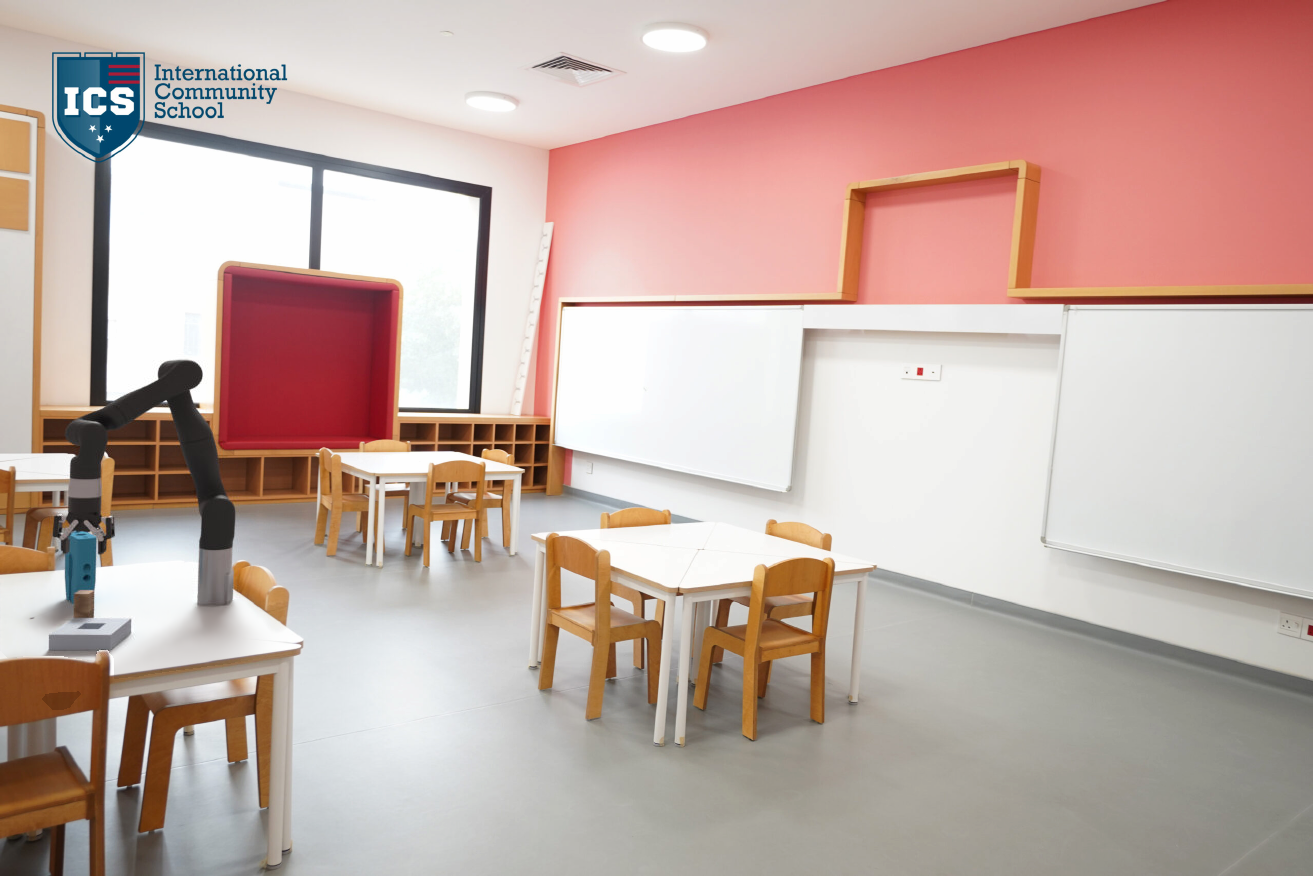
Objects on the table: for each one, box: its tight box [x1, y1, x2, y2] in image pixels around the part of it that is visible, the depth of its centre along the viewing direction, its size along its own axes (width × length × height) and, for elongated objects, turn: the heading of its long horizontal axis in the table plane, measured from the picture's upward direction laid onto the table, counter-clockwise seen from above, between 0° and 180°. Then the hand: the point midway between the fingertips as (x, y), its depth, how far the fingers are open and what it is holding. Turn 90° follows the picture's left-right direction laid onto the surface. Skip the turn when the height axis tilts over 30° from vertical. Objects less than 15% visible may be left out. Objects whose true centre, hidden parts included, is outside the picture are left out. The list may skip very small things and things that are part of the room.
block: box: [64, 531, 98, 605], centre depth 258 cm, size 12×5×20 cm, turn 50°
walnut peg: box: [73, 590, 95, 618], centre depth 235 cm, size 4×4×10 cm
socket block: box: [48, 617, 132, 651], centre depth 226 cm, size 14×14×4 cm
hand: (83, 553), depth 234 cm, fingers open, 8 cm apart
